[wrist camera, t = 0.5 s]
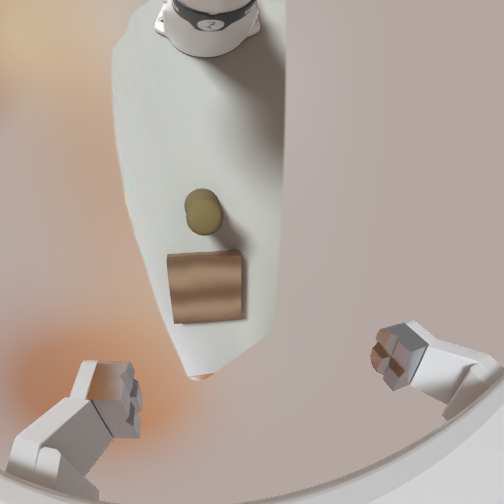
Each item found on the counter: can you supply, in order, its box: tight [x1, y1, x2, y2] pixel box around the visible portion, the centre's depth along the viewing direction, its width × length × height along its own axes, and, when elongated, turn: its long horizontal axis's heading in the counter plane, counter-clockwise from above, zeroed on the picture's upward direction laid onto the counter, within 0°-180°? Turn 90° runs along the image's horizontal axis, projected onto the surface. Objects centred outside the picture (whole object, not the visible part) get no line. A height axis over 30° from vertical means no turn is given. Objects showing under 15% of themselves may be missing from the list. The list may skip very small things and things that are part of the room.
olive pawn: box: [185, 189, 223, 236], centre depth 41 cm, size 6×6×11 cm
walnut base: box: [167, 250, 241, 324], centre depth 50 cm, size 13×13×3 cm
